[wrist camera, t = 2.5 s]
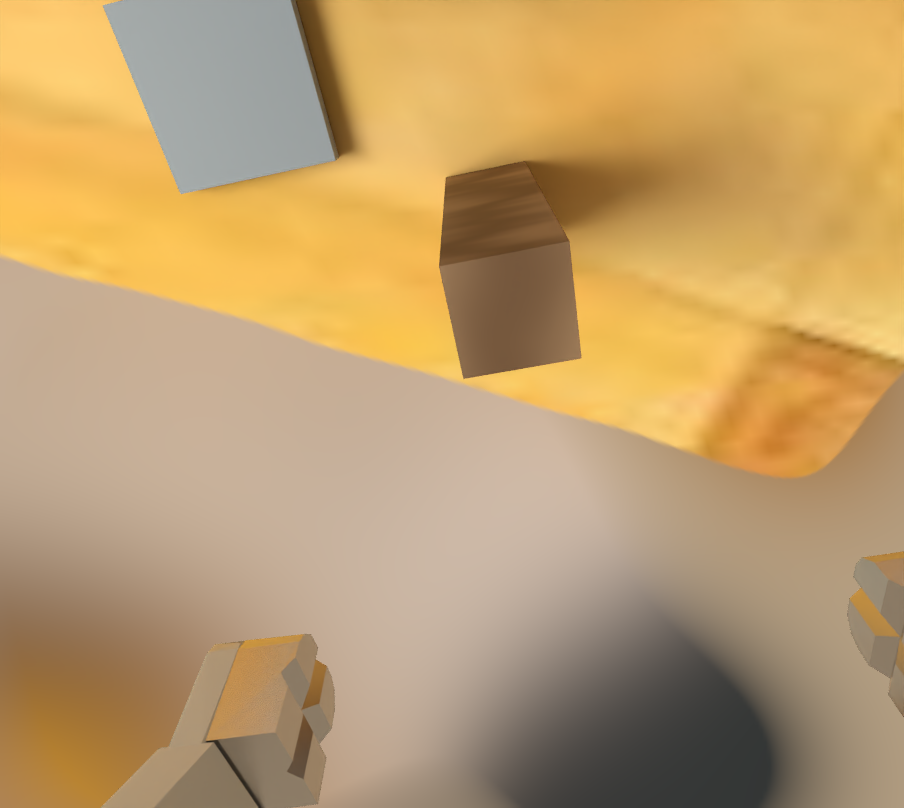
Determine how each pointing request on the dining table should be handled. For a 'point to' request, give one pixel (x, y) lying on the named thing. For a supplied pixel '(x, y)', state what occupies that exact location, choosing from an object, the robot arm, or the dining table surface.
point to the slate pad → (225, 86)
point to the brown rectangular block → (506, 273)
